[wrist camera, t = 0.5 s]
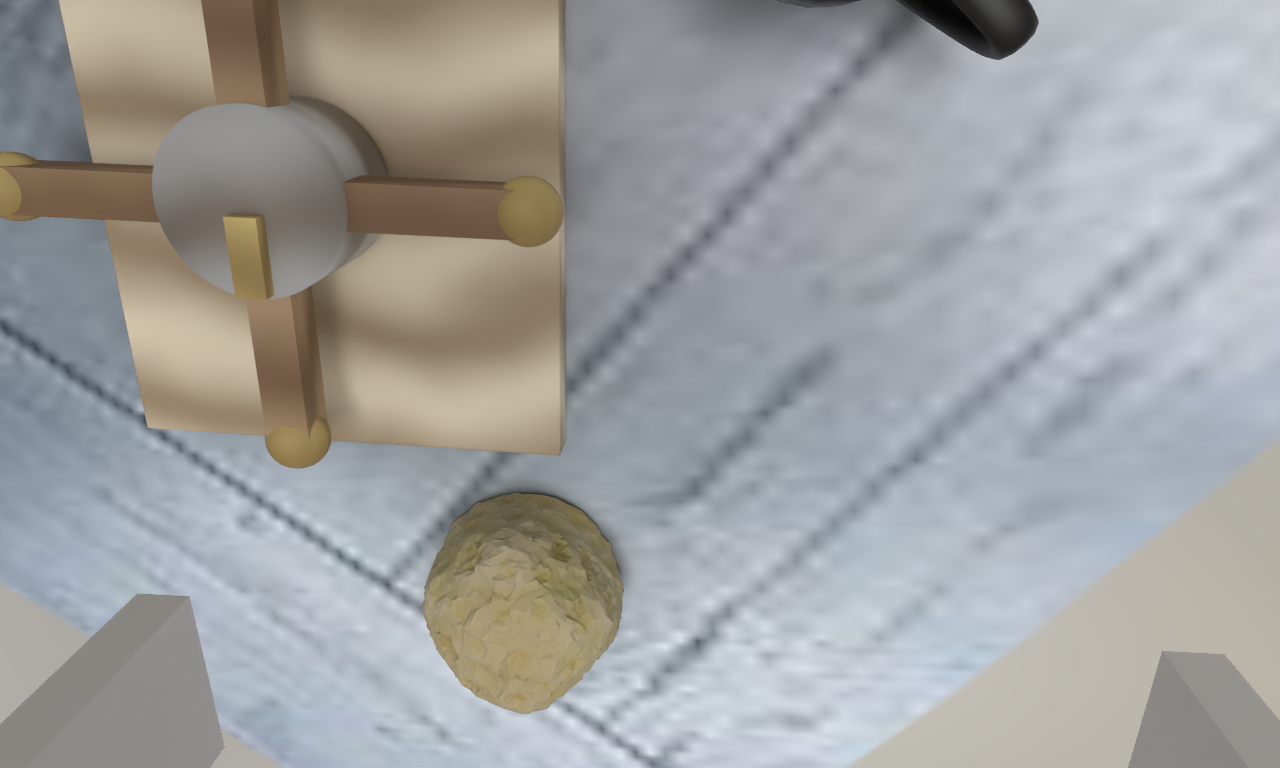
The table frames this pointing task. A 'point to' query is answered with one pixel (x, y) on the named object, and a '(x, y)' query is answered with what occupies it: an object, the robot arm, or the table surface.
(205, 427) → the stand
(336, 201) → the capstan
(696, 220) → the table surface
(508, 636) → the decorative object
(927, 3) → the mug
